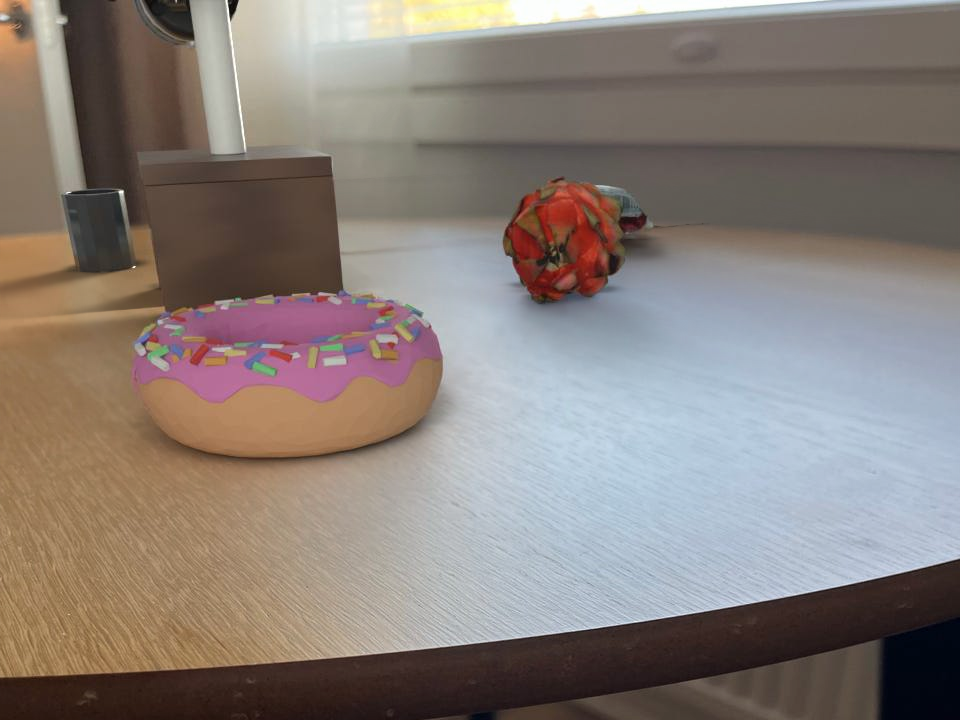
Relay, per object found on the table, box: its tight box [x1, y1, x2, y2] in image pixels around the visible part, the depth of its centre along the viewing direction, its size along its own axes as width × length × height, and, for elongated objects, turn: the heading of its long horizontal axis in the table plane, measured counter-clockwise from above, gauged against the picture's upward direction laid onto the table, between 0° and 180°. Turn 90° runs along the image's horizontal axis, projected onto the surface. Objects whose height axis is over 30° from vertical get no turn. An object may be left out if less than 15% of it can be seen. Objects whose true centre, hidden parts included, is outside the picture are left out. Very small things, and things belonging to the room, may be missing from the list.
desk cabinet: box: [136, 144, 344, 313], centre depth 73 cm, size 12×14×10 cm
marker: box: [189, 0, 247, 155], centre depth 68 cm, size 3×3×14 cm
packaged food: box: [594, 184, 654, 241], centre depth 97 cm, size 9×12×5 cm
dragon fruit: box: [502, 175, 629, 304], centre depth 73 cm, size 8×8×12 cm
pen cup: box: [60, 188, 138, 273], centre depth 88 cm, size 5×5×6 cm
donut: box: [131, 290, 444, 459], centre depth 48 cm, size 14×14×5 cm
